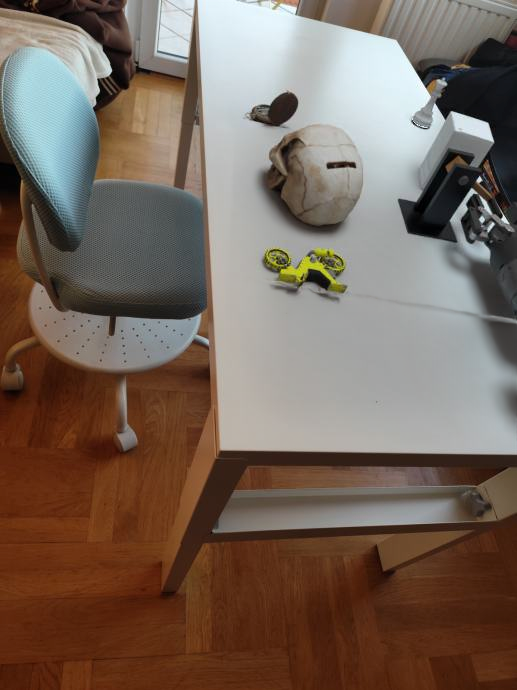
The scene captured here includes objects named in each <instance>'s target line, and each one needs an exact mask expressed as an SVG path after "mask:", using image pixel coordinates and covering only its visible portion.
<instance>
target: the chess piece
mask: <svg viewBox="0 0 517 690" xmlns="http://www.w3.org/2000/svg"><path fill="white" fill-rule="evenodd" d="M445 80H446V78H445V77H442V78H441V79H440V78H439V79H436V81H435V83H436V84H435V85H436V86H435V88H434V89H431V90H430V94H429V95H431V96H430V98H429V99H428V101H427V103H426V104H425V105H424V106H423V107H421V108H420V110H418V111H416V112H415V113H414V115H413V116H412V118H413V121H414V122H415V123H416V124H418V125H420V126H424V127H429V126H430V127H431V126H432V124H433V122H434V119H433V118H434V117H433V115H434V111H433V110H434V107H435V104H436V102H437V99H439V98H441V97H442V90H443V89H444V88H446V87H447V86H448V83H447V82H446V81H445Z"/></svg>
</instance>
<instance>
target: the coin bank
mask: <svg viewBox="0 0 517 690" xmlns="http://www.w3.org/2000/svg"><path fill="white" fill-rule="evenodd" d="M268 159H269V160H270V162H271V163H272V164H271V165H270V168H269V170H268V171H267V181H266V184H267V185H268V188H269V189H271V190H274V191H279V192H280V193H281V194H280V198H281V200H283V201H284V202H285V203H286V204H287V207H288V208H289V210H290V212H291V214H292V215H293V216H294V217H295V218H296V219H298V220H299V221H301V222H302V223H305V224H308V225H311V226H315V227H320V226H324V225H326V226H327V225H328V226H329V225H335V224H338V223H340V222H343V221H344V220H345V219H347V218H348V217H349V215H350V214H351V213H352V211H353V210H354V208H355V206H356V205H357V203H358V201H360V197H361V194H362V191H363V185H364V165H363V160H362V157H361V155H360V153H359V151H358V149H357V147H356V144H355V142H354V141H353V140H352V139H351V136H349V135H348V134H347V132H346V131H345V129H343V128H342V127H341V128H340V127H338V126H336V125H330V124H324V123H323V124H321V123H319V124H308V125H305V126H304V127H301V128H299V129H298V130H294V131H293V132H289V133H286V134H285V135H284V136H283V137H282V138H281V140H280V141H279V142H278V144H276V145H274V146H273V147H271V149H270V150H269V152H268Z"/></svg>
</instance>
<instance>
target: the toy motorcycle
mask: <svg viewBox="0 0 517 690" xmlns="http://www.w3.org/2000/svg"><path fill="white" fill-rule="evenodd" d="M272 254H275V256H274V255H272ZM313 255H314V256H315V257H314V256H313ZM271 258H272V259H274V261H272V260H271ZM327 258H328V259H327ZM263 260H264V263H266V265H268V267H269V268H271V269H274V270H278V271H279V274H278V277H277V282H283V283H288V284H291V285H294V286H295V287H296V289H295V293H297V292H298V289H300V288H301V287H302V286H303V285H304V283H305V282H315V283H316V284H318V285H319V286H321V287H322V288H323V289H324V290H325V291H329V292H333V293H338V294H344V293H345V292H346V290H347V288H348V286H349V285H348V284H344V283H341V282H339V281H336V278H337V276H336V274H337V275H339V274H342V273H344V271H345V269H346V266H347V264H346V261H345V259H344V258H343V256H341V255H340V254H338V253H335V251H334V249H329V248H328V249H327V248H320V247H319V248H315V249H311V250H309V252H308V253H307V254H306V255H305V256H304V257H303V258H302V259H301V260H300V261H299V263H298V265H297V266H296V268H295V267H293V266H292V265H291V264H292V257H291V255H290V253H289V252H287V250H284V248H281V247H272V248H271V247H269V249H267V250H266V251H265V252H264V256H263ZM337 264H340V266H339V265H337ZM334 267H335V268H334Z"/></svg>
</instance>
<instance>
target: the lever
mask: <svg viewBox="0 0 517 690" xmlns="http://www.w3.org/2000/svg"><path fill="white" fill-rule="evenodd" d="M454 163H459V164H463V165H468V164H467V163H466V162H465V161H464V160H463V159H462V158H460V157H459V156H457V157H456V158H455V159H454V160H453V161H451V162H450V163H449V164H448V165H446V166H445V167H446V169H447V172H448V173H449V171H450V170H451V168H452V166H453V165H454ZM468 166H469V165H468ZM471 190H473V191H474V192H475V193H476V194H479V196H480V198H482V199H483V200H484V201H485V202H486V205H487V207H488V209H489V211H490V214H491V215H493V214H496V215H497V216H498V217H499V218H500V219H501V220H502V219H503V218H504V214H503V211H502V209H501V208H500V206H499V204H498V201H497V200H496V198H495V196H494V194H493V192H492V190H491V188H490V186H489V183H488V182H487V181H486V180H480V181H479V182H478V180H477V181H476V182H475V184H474V185H473V187H472V188H471Z"/></svg>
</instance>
